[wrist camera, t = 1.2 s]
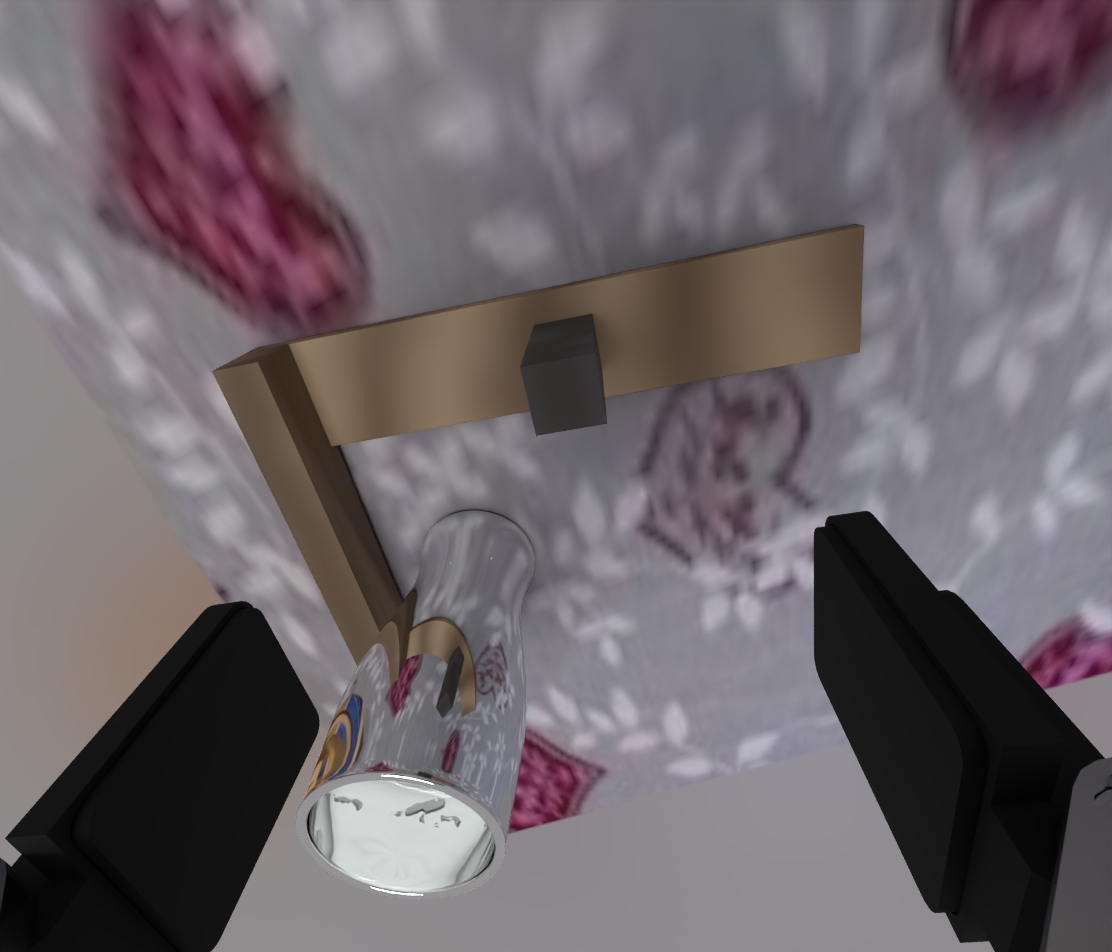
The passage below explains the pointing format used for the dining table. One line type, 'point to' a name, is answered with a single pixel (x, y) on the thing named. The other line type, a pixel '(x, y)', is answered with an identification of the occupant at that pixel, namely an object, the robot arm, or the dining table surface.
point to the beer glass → (430, 725)
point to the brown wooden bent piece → (520, 378)
